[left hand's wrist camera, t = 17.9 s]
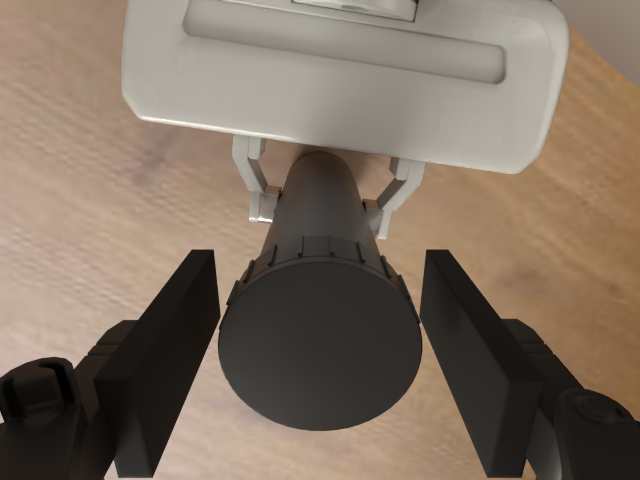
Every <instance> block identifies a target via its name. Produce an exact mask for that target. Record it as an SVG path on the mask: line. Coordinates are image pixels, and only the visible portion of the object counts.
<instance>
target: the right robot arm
mask: <svg viewBox="0 0 640 480" xmlns="http://www.w3.org/2000/svg"><path fill="white" fill-rule="evenodd" d="M569 49H570V31H569V26H568V22H567V19H566V17H565V15H564V13H563V12H562V10H561V9H560V8H559V7H558V6H557V5H556V4H555V3H553V2H552V0H127V6H126V14H125V22H124V32H123V44H122V62H121V90H122V95H123V97H124V99H125V101H126V102H127V103H128V105H129V106H130V108H131V109H132V111H133V112H134V113H135V115H136V116H137V117H138V118H139V119H141V120H145V121H151V122H158V123H165V124H171V125H178V126H185V127H192V128H199V129H206V130H212V131H219V132H226V133H233V144H232V158H233V160H234V162H235V164H236V166H237V168H238V170H239V172H240V174H241V176H242V178H243V180H244V182H245V184H246V186H247V188H248V190H249V191H251V200H250V213H249V220H250V221H252V222H261V223H269V224H271V222H272V220H273V217H274V214H275V211H276V208H277V205H278V202H279V199H280V196H281V190H282V187H277V186H271V185H268V184H267V182H266V179H265V177H264V175H263V172H262V170H261V168H260V165H259V163H258V161H257V159H258V158H259V157H260V156H261V155H262V154H263V152H264V151H265V143H266V138H267V139H274V140H281V141H288V142H294V143H301V144H308V145H315V146H322V147H329V148H335V149H342V150H349V151H356V152H363V153H369V154H376V155H383V156H390V157H391V161H390V166H389V170H390V171H391V172H392V174H393V175H394V176H395V178H394V179H393V181H392V182H391V183H390V184H389V185H388V187H387V188H386V189H385V190H384V191H383V193H382V194H381V195H380V196H379V197H378V199H377V200H370V199H363V200H362V204H363V207H364V210H365V213H366V215H367V218H368V221H369V224H370V227H371V230H372V233H373V236H374V238H377V239H386V238H387V235H388V231H389V226H390V222H391V217H392V213H393V211H396V210H397V209H398V208H399V207H400V206H401V205H402V203H403V202H404V201H405V200H406V199H407V198H408V197H409V196H410V195H411V194H412V193H413V192H414V191H415V190H416V189H417V187H418V186H419V185H420V184H421V182H422V178H423V174H424V170H425V166H426V162H431V163H438V164H445V165H451V166H458V167H465V168H472V169H479V170H486V171H492V172H499V173H506V174H517V173H519V172H521V171H522V170H523V169H525V168H526V167H527V166H528V165H529V164H531V163H532V162H533V161H534V160H535V159H536V158H537V157H538V156H539V155H540V153H541V151H542V149H543V147H544V144H545V141H546V139H547V136H548V133H549V130H550V127H551V124H552V120H553V117H554V114H555V110H556V107H557V103H558V100H559V96H560V92H561V88H562V84H563V80H564V75H565V71H566V66H567V61H568V56H569Z"/></svg>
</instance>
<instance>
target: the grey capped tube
mask: <svg viewBox="0 0 640 480" xmlns="http://www.w3.org/2000/svg"><path fill="white" fill-rule="evenodd" d="M329 234H332V235H333V237H339V238H344V239H347V240H351V241H354V242H356V243H357V242H358V241H360V242H361V243H362V245H364V246H366V247H367V248H369V249H371V250H373V251H374V252H376V253H377V254H378V255H380V253H379V250H378V247H377V244H376V242H375V239H374V236H373V233H372V230H371V227H370V224H369V221H368V218H367V215H366V213H365V210H364V207H363V204H362V201H361V198H360V195H359V192H358V189H357V186H356V184H355V181H354V178H353V175H352V172H351V170H350V168H349V167H348V165H347V164H346V163H345V162H344V161H343V160H342V159H340V158H339V157H337V156H335V155H333V154H330V153H326V152H315V153H310V154H307V155H305V156H303V157H302V158H300V159H299V160H298V161H297V162H295V164H294V165H293V166H292V168H291V169H290V171H289V173H288V176H287V179H286V182H285V185H284V188H283V191H282V194H281V196H280V199H279V202H278V205H277V208H276V211H275V214H274V217H273V220H272V222H271V225H270V228H269V231H268V234H267V237H266V240H265V243H264V246H263V248H262V251H261V254H260V256H261V255H262V254H263V253H265V252H266V251H268V250H269V249H271V248H272V245H274V244H276V245H279V244H281V243H284V242H287V241H290V240H293V239H297V238H300V236H301V235H303V236H304V237H309V236H329Z"/></svg>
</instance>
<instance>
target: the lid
mask: <svg viewBox="0 0 640 480" xmlns="http://www.w3.org/2000/svg"><path fill="white" fill-rule="evenodd" d="M226 305H228V307H227V309H226V312H225V314H224V316H223V319H222V321H221V324H220V326H219V330H220V332H219V338H218V354H219V360H220V364H221V368H222V371H223V373H224V376H225V378H226V380H227V382H228V383H229V385H230V387H231V388H232V390H233V391H234V392H235V393H236V395H237V396H238V397H239V398H240V399H241V400H242V401H243V402H244V403H245V404H246V405H247V406H248V407H250V408H251V409H252V410H254V411H255V412H256V413H258V414H260V415H261V416H263V417H265V418H267V419H269V420H271V421H273V422H276V423H278V424H281V425H284V426H287V427H291V428H296V429H301V430H309V431H330V430H339V429H345V428H349V427H353V426H356V425H360V424H362V423H365V422H367V421H370V420H372V419H373V418H375V417H377V416H379V415H381V414H382V413H384V412H385V411H387V410H388V409H390V408H391V407H392V406H393V405H394V404H395V403H397V402H398V401H399V400H400V399H401V397H402V396H403V395H404V394H405V393H406V392H407V390H408V389H409V387H410V386H411V384H412V383H413V381H414V379H415V376H416V374H417V372H418V369H419V366H420V362H421V356H422V335H421V330H420V326H419V324H420V319H419V317H418V314H417V312H416V310H415V307H414V305H413V302H412V300H411V297H410V294H409V292H408V290H407V287H406V285H405V283H404V280H403V278H402V276H401V275H397V273H396V272H395V270H394V269H393V268H392V267H391V266H390V265H389V263H388V262H387V261H386V258H385V256H383V255H382V256H380V255H378V254H377V253H376V252H374V251H373V250H371V249H369V248H367V247H366V246H364V245H362V243H361V242H360V241H358V242H357V243H356V242H354V241H351V240H347V239H344V238H339V237H333V235H332V234H329V236H309V237H304V236H303V235H301V236H300V238H297V239H293V240H290V241H287V242H284V243H281V244H279V245H276V244H274V245H272V248H271V249H269V250H268V251H266V252H265V253H263V254H262V255H261V256H259V257H258V258H257V259H256V260H255V261H254V260H253V259H252V260H251V261H250V263H249V266H248V268H247V270H246V271H245V272H244V274H243V275H242V277H241V279H240V280H239V281H238V280H236V282H235V284H234V287H233V289H232V291H231V294H230V296H229V298H228V301H227V303H226Z"/></svg>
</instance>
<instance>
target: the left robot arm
mask: <svg viewBox="0 0 640 480" xmlns="http://www.w3.org/2000/svg"><path fill="white" fill-rule="evenodd" d="M220 317H221V315H220V305H219V296H218V286H217V277H216V268H215V258H214V250H191V252H190V253H189V254H188V255H187V257H186V258H185V259H184V261H183V262H182V263H181V265H180V266H179V267H178V269H177V270H176V271H175V272H174V274H173V275H172V276H171V278H170V279H169V280H168V282H167V283H166V284H165V286H164V287H163V288H162V290H161V291H160V292H159V293H158V295H157V296H156V297H155V299H154V300H153V301H152V303H151V304H150V305H149V307H148V308H147V309H146V310H145V312H144V313H143V314H142V316H141V317H140V318H139V320H123V321H121V322H120V323H118V324H117V325H115V326H113V327H112V328H110V329H109V330H107V331H106V332H105V334H104V335H103V336H102V337H101V338H100V339H99V341H98V342H97V343H96V345H94V346H93V348H92V349H91V350H90V351H89V352H88V355H87V356H85V357H84V358H83V359H82V360H81V362H80V363H79V364H78V365H77V366H76V367H75V369H73V366H72V363H71V362H70V361H68V360H67V359H65V358H59V357H49V358H41V359H37V360H34V361H31V362H27V363H25V364H23V365H21V366H18V367H16V368H14V369H12V370H10V371H9V372H8V373H6V374H5V375H4V376H2V377H1V378H0V412H1V414H2V417H3V419H4V423H1V424H0V480H104V476H105V474H106V472H107V471H108V469H109V467H110V465H111V463H112V461H113V460H114V462H115V466H116V470H117V474H118V478H153V475H154V473H155V471H156V468H157V466H158V464H159V461H160V459H161V456H162V454H163V452H164V449H165V447H166V445H167V442H168V440H169V438H170V435H171V433H172V430H173V428H174V426H175V423H176V421H177V419H178V416H179V414H180V412H181V409H182V407H183V404H184V402H185V400H186V397H187V395H188V393H189V390H190V388H191V386H192V383H193V381H194V378H195V376H196V374H197V371H198V369H199V367H200V364H201V362H202V360H203V357H204V355H205V352H206V350H207V348H208V345H209V343H210V341H211V338H212V336H213V334H214V331H215V329H216V326H217V324H218V322H219V319H220ZM419 317H420V319H421V322H422V324H423V326H424V329H425V331H426V334H427V336H428V338H429V341H430V343H431V345H432V348H433V350H434V352H435V355H436V357H437V360H438V362H439V364H440V367H441V369H442V371H443V374H444V376H445V378H446V381H447V383H448V386H449V388H450V390H451V393H452V395H453V397H454V400H455V402H456V404H457V407H458V409H459V412H460V414H461V416H462V419H463V421H464V423H465V426H466V428H467V430H468V433H469V435H470V438H471V440H472V442H473V445H474V447H475V449H476V452H477V454H478V456H479V459H480V461H481V464H482V466H483V468H484V471H485V473H486V475H487V478H522V474H523V470H524V466H525V462H526V459H528V461H529V463H530V465H531V467H532V469H533V470H534V472H535V474H536V480H640V422H639V421H635V420H634V418H633V417H632V415H631V414H630V412H629V411H628V410H626V409H625V408H624V407H623V406H622V405H620V404H619V403H618V402H616V401H615V400H613V399H611V398H609V397H607V396H605V395H604V394H601V393H598V392H594V391H591V390H588V389H584V388H583V386H582V385H581V384H580V383H579V382H578V381H577V380H576V378H575V377H574V376H573V375H572V374H571V373H570V371H569V370H568V369H567V368H566V367H565V366H564V364H563V363H562V362H561V361H560V360H559V359H558V357H557V356H556V355H553V352H552V351H551V349H550V348H549V347H548V346H547V345H546V344H544V341H543V340H542V339H541V338H540V337H539V335H538V334H537V333H536V332H535V331H534V330H533V329H532V328H530V327H529V326H527V325H526V324H524V323H523V322H521V321H519V320H518V319H501V318H500V317H499V316H498V314H497V313H496V312H495V310H494V309H493V308H492V307H491V305H490V304H489V303H488V301H487V300H486V299H485V297H484V296H483V295H482V293H481V292H480V291H479V290H478V288H477V287H476V286H475V284H474V283H473V282H472V280H471V279H470V278H469V276H468V275H467V274H466V272H465V271H464V270H463V269H462V267H461V266H460V265H459V263H458V262H457V261H456V259H455V258H454V257H453V255H452V254H451V253H450V252H449V250H426V258H425V268H424V277H423V286H422V296H421V305H420V315H419Z"/></svg>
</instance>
